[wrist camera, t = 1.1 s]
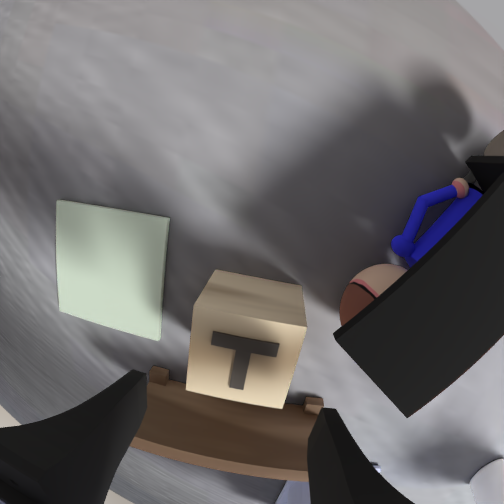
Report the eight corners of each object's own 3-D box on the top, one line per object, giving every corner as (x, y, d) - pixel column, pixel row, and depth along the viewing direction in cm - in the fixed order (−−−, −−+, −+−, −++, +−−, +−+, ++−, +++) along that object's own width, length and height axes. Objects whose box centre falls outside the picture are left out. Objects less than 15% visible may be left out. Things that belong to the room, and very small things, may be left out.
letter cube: (283, 356, 20) (282, 410, 15) (205, 341, 20) (185, 391, 15) (301, 285, 19) (307, 328, 14) (215, 268, 19) (192, 306, 14)
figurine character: (467, 120, 16) (303, 285, 18) (550, 102, 9) (334, 350, 11) (514, 200, 17) (370, 356, 19) (592, 213, 9) (417, 432, 12)
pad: (160, 338, 20) (158, 341, 20) (62, 308, 21) (59, 310, 20) (170, 217, 18) (167, 219, 18) (60, 199, 18) (56, 200, 18)
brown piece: (311, 426, 21) (314, 489, 16) (153, 395, 22) (124, 451, 16) (323, 398, 21) (330, 464, 15) (153, 365, 21) (119, 422, 15)
